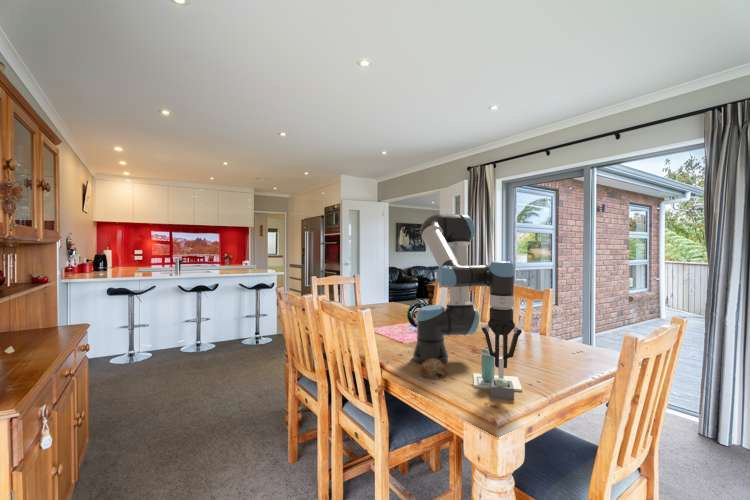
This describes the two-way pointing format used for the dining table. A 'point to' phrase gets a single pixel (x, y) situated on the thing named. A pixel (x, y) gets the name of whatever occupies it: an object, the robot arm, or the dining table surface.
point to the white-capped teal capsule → (487, 366)
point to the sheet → (481, 384)
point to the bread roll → (433, 369)
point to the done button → (501, 383)
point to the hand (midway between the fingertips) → (500, 376)
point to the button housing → (502, 390)
